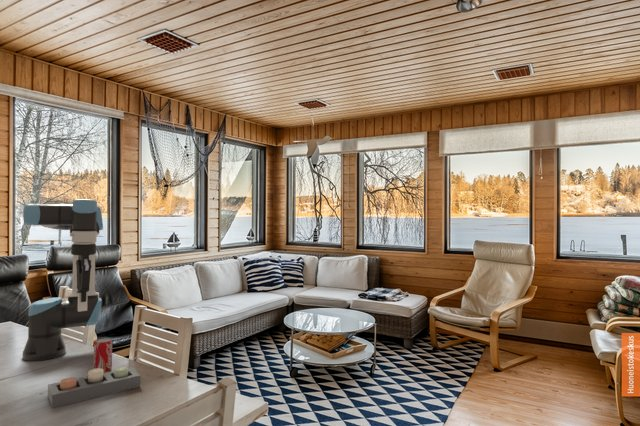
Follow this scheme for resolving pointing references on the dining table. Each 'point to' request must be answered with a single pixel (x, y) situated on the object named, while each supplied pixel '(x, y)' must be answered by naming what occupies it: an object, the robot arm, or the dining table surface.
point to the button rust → (68, 383)
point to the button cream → (95, 375)
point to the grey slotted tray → (92, 388)
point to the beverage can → (103, 354)
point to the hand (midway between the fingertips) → (82, 310)
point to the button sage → (120, 372)
